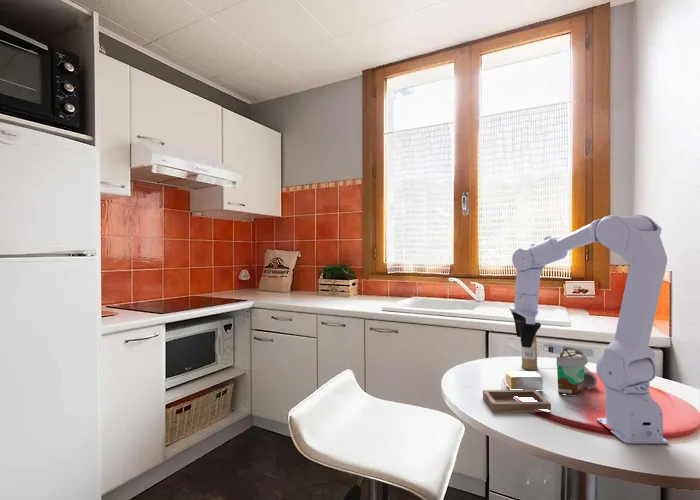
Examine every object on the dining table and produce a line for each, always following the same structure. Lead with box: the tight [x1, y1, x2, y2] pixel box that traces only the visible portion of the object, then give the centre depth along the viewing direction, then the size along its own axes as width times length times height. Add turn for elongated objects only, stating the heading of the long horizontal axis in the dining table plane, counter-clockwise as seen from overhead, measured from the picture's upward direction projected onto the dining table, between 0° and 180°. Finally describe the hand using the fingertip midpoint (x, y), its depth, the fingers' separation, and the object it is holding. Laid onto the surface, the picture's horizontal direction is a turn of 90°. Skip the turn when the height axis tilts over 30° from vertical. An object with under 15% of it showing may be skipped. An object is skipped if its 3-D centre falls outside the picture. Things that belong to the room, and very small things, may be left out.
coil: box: [583, 366, 598, 390], centre depth 105 cm, size 5×5×18 cm
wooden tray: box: [482, 389, 552, 414], centre depth 88 cm, size 8×13×2 cm, turn 86°
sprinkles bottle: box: [520, 333, 538, 371], centre depth 113 cm, size 5×5×13 cm
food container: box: [556, 345, 589, 396], centre depth 95 cm, size 12×6×10 cm, turn 143°
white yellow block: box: [505, 370, 544, 391], centre depth 98 cm, size 4×8×4 cm, turn 86°
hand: (523, 341), depth 100 cm, fingers open, 7 cm apart
